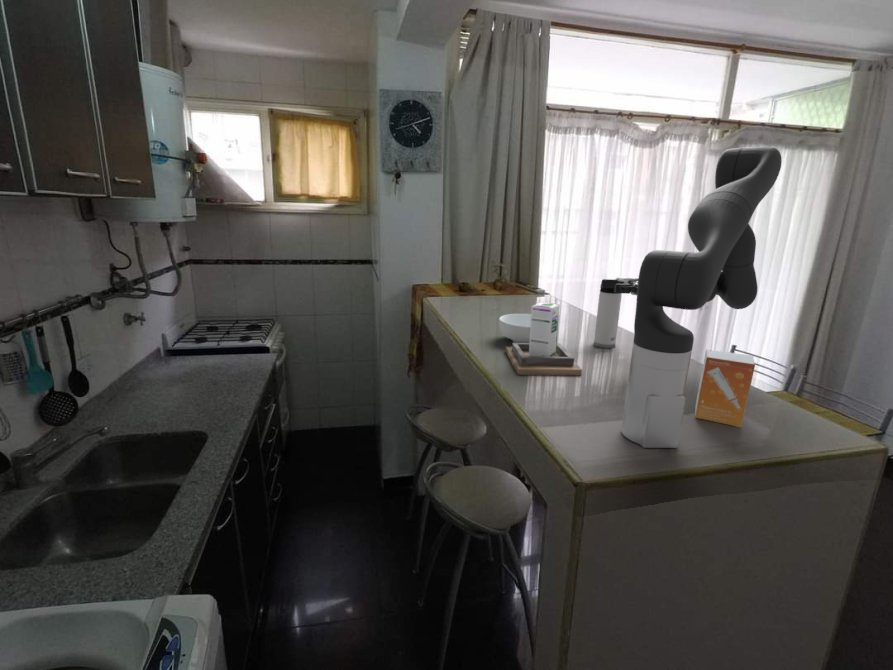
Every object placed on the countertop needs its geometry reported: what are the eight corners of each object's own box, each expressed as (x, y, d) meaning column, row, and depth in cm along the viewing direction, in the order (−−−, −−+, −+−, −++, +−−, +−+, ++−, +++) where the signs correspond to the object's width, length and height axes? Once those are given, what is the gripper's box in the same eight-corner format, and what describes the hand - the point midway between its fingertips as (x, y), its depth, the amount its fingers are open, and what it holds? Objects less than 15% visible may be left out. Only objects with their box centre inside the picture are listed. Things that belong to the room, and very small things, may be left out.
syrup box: (548, 362, 117) (553, 307, 113) (527, 358, 120) (531, 304, 116) (556, 356, 122) (560, 304, 118) (535, 352, 125) (539, 301, 121)
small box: (694, 418, 90) (705, 356, 86) (694, 407, 95) (705, 348, 92) (742, 428, 86) (756, 363, 83) (739, 416, 91) (752, 354, 88)
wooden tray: (581, 375, 112) (582, 361, 112) (517, 374, 112) (518, 361, 111) (560, 352, 131) (561, 340, 130) (505, 351, 130) (506, 340, 129)
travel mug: (617, 349, 135) (626, 282, 130) (594, 347, 136) (602, 281, 131) (614, 343, 141) (622, 279, 136) (592, 341, 142) (599, 278, 137)
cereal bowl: (492, 345, 137) (493, 322, 135) (503, 332, 152) (505, 311, 150) (549, 351, 131) (551, 328, 129) (555, 337, 147) (557, 316, 145)
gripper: (659, 269, 119) (599, 267, 118) (689, 276, 105) (622, 274, 105) (655, 297, 121) (596, 296, 120) (684, 307, 107) (617, 305, 107)
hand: (608, 285), depth 112 cm, fingers open, 8 cm apart
